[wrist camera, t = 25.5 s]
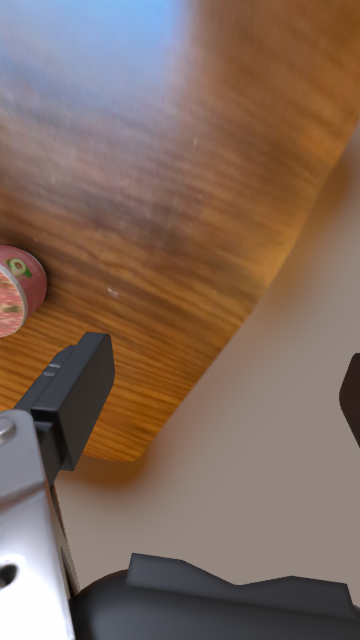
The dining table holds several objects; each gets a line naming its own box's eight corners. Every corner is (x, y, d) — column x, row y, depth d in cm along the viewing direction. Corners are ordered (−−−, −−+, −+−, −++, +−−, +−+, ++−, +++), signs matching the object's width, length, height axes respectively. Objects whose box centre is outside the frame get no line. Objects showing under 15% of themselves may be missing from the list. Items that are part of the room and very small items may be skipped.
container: (63, 310, 43) (34, 340, 36) (-4, 306, 44) (-45, 335, 38) (47, 237, 38) (9, 256, 31) (-28, 235, 39) (-81, 253, 32)
